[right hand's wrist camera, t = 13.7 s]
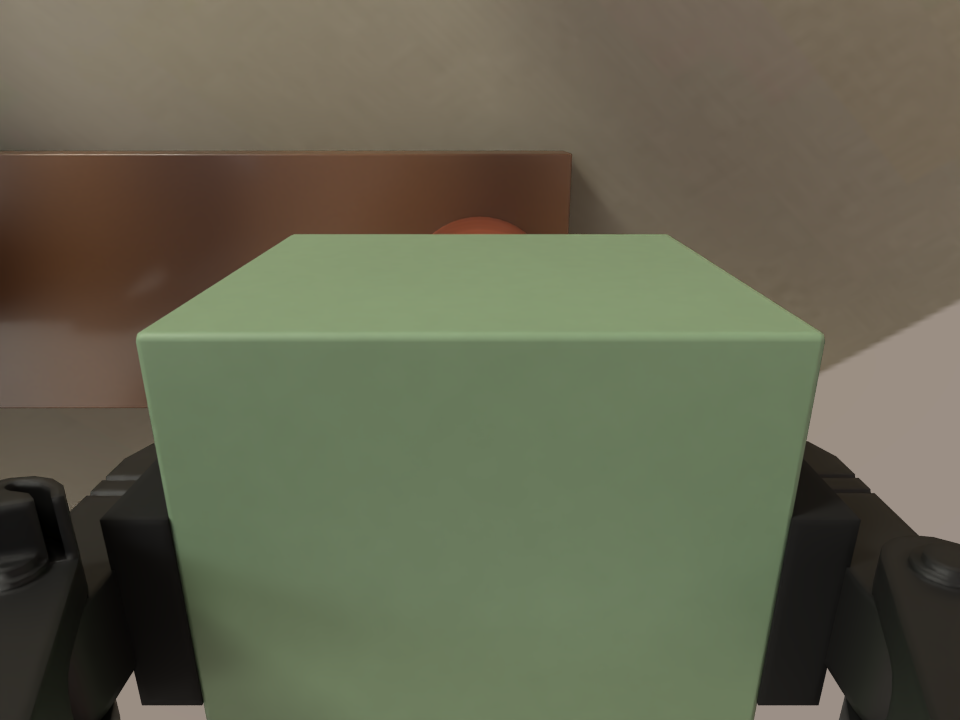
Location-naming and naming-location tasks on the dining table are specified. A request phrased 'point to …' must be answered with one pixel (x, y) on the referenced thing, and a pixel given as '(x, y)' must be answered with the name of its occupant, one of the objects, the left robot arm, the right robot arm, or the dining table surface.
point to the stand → (209, 239)
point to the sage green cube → (480, 477)
